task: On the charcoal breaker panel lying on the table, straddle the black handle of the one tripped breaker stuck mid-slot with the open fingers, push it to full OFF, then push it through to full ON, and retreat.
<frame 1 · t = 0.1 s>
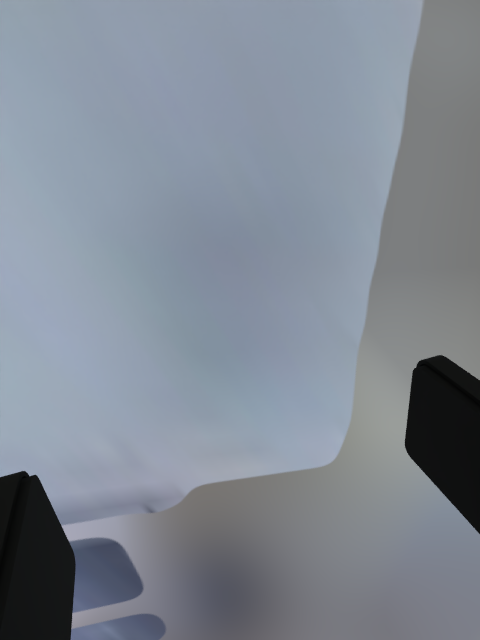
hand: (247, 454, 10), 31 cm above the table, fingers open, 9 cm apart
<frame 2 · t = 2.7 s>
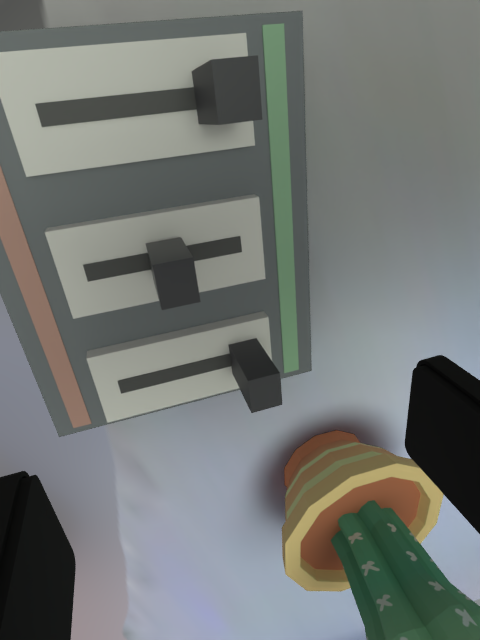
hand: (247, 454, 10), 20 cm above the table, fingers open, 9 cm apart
tripped breaker handle: (171, 271, 22), point 6 cm above the table, slide at 0.0 cm
breaker panel: (158, 240, 27), on the table
potted cactus: (323, 464, 42), on the table
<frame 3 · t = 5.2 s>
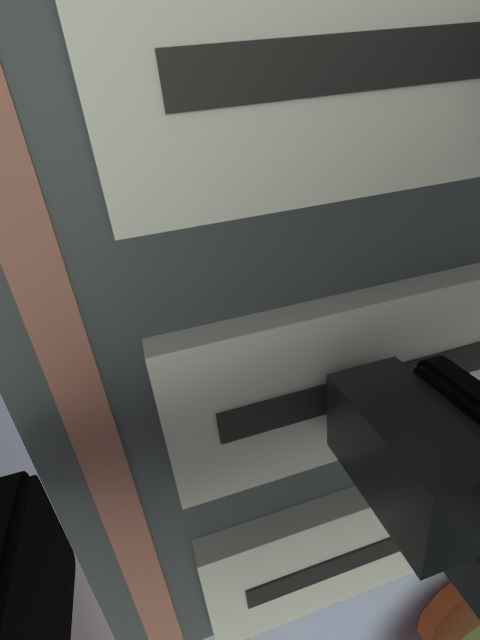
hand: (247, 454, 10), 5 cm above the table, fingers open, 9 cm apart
tripped breaker handle: (405, 452, 10), point 7 cm above the table, slide at -0.7 cm, touching gripper
breaker panel: (311, 325, 15), on the table
potted cactus: (468, 598, 30), on the table
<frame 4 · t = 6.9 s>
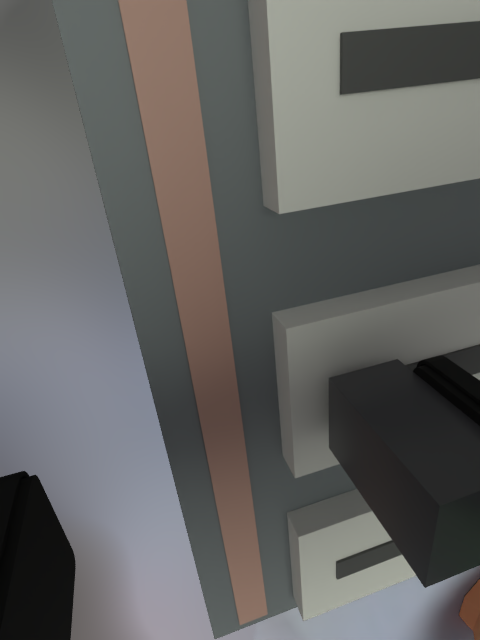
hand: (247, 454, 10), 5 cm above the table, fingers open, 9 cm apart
tripped breaker handle: (409, 456, 9), point 6 cm above the table, slide at -4.1 cm, touching gripper
breaker panel: (394, 307, 16), on the table
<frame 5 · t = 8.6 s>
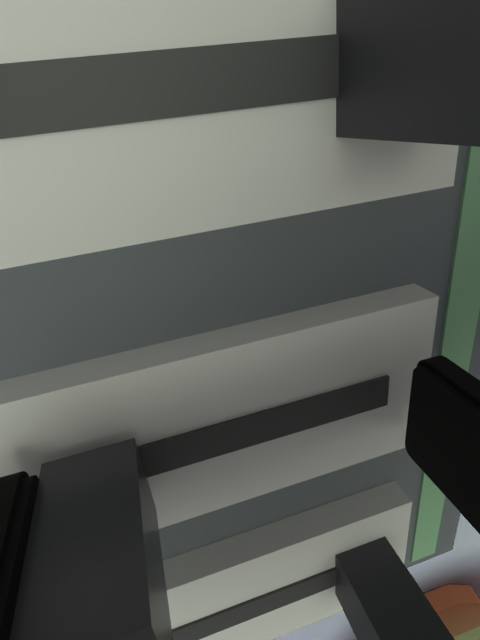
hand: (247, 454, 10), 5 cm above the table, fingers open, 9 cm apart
tripped breaker handle: (102, 568, 8), point 6 cm above the table, slide at -3.3 cm, touching gripper
breaker panel: (201, 358, 14), on the table
potted cactus: (421, 623, 29), on the table
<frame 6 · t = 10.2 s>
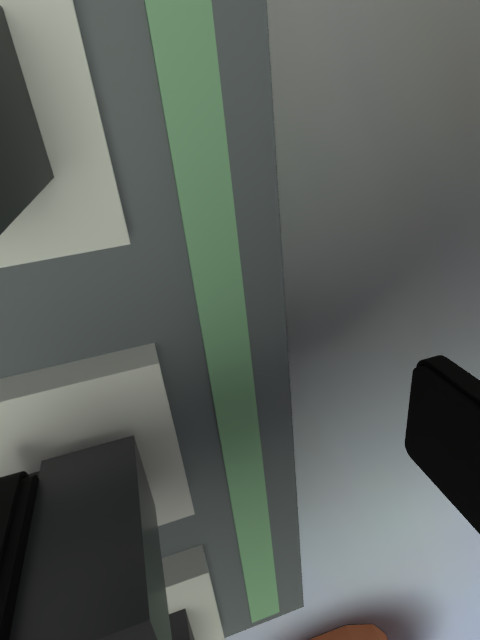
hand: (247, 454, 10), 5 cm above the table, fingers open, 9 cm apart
tripped breaker handle: (101, 564, 8), point 6 cm above the table, slide at 4.1 cm, touching gripper
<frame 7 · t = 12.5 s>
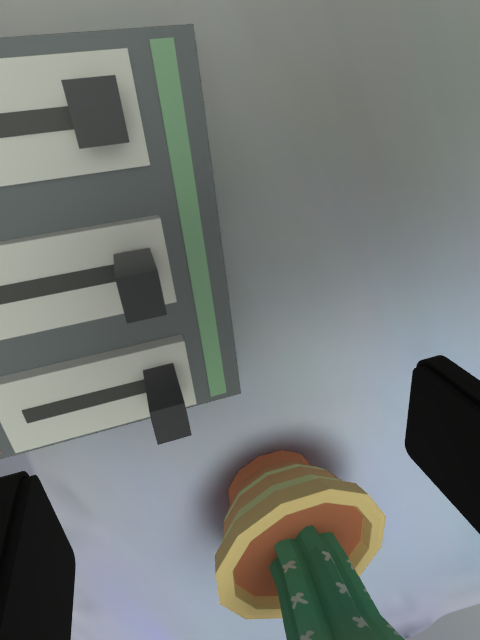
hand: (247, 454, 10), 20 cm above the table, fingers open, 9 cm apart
tripped breaker handle: (138, 283, 21), point 6 cm above the table, slide at 4.1 cm
breaker panel: (68, 261, 26), on the table
potted cactus: (270, 484, 41), on the table
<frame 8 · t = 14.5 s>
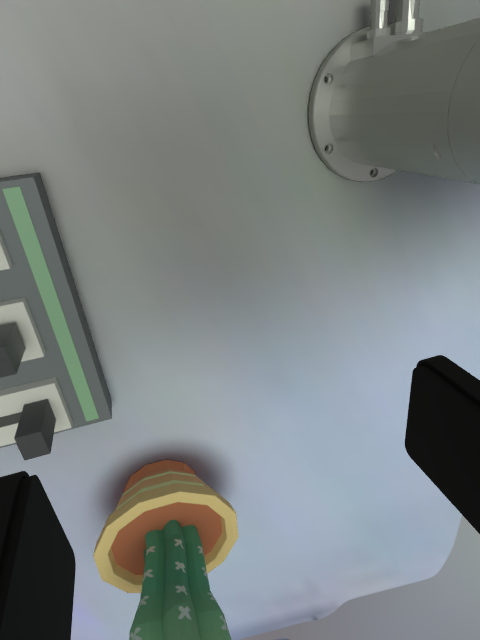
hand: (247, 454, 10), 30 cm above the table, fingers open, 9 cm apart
tripped breaker handle: (1, 350, 31), point 7 cm above the table, slide at 4.1 cm
potted cactus: (161, 486, 51), on the table
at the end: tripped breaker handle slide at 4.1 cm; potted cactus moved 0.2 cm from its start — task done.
